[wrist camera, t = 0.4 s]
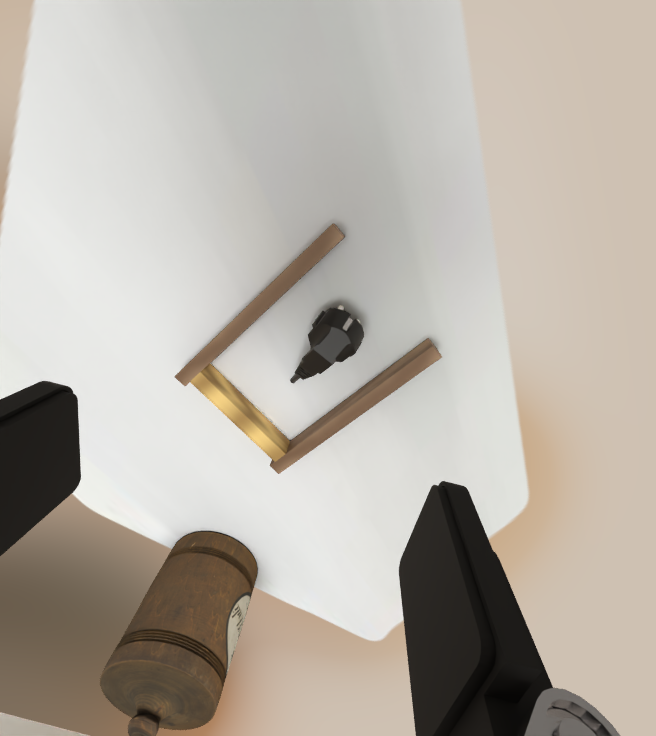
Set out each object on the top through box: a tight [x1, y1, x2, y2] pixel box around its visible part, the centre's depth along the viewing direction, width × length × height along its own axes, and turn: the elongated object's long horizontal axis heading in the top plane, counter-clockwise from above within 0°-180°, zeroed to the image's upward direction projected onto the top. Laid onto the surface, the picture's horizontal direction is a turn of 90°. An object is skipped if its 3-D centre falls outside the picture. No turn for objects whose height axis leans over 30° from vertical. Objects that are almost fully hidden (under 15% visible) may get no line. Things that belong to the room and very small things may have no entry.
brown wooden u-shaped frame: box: [175, 224, 442, 474], centre depth 42 cm, size 18×26×3 cm
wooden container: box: [100, 532, 257, 736], centre depth 49 cm, size 15×15×22 cm
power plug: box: [290, 305, 364, 383], centre depth 42 cm, size 6×8×12 cm
